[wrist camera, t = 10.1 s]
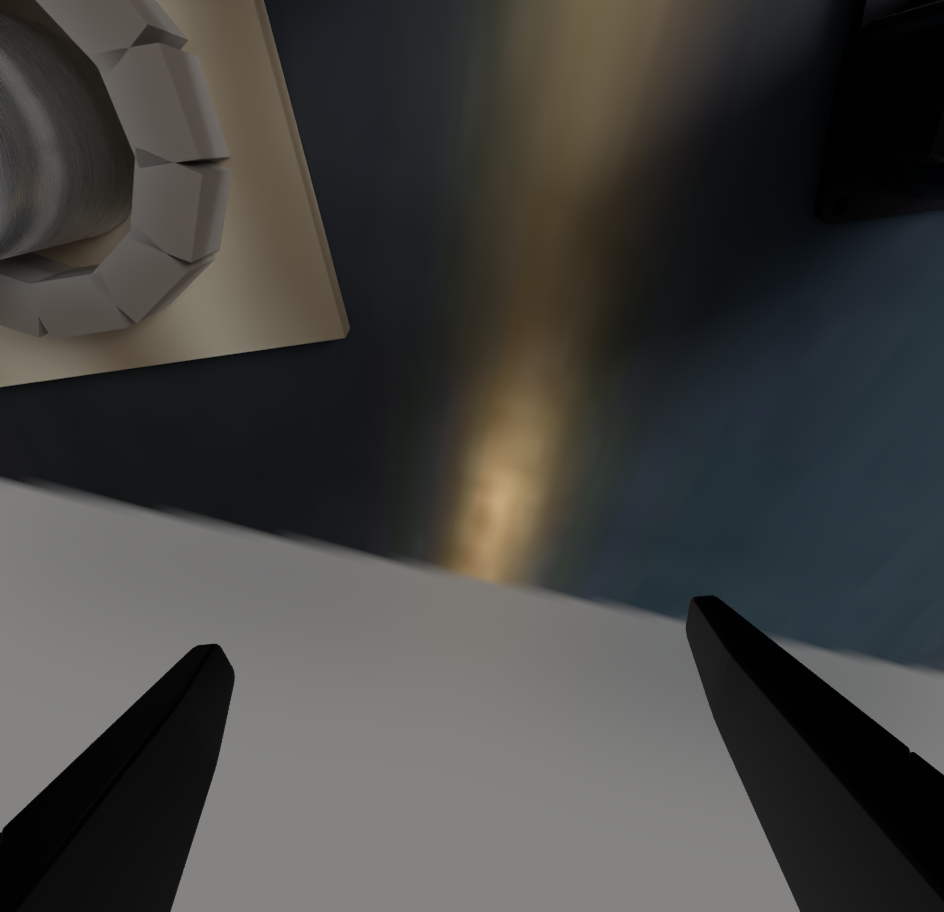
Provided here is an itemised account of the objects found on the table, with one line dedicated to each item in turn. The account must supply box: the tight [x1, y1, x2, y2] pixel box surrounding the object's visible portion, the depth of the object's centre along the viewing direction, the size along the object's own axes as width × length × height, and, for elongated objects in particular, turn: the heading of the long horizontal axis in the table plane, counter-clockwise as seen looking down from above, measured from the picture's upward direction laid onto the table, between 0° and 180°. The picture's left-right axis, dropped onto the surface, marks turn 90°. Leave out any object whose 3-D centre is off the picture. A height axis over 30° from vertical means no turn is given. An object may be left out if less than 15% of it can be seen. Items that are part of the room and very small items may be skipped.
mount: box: [0, 0, 350, 387], centre depth 13 cm, size 13×13×3 cm
